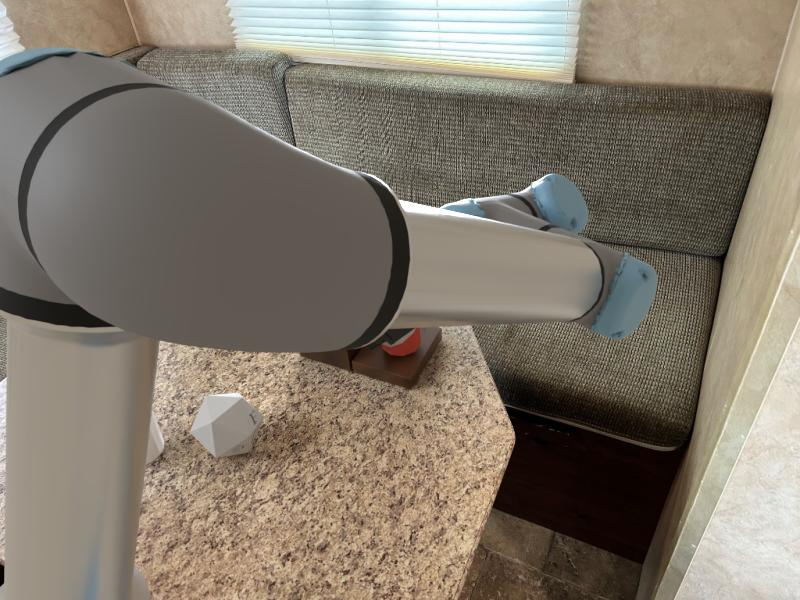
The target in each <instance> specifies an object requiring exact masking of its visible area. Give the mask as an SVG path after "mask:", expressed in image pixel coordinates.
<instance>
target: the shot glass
mask: <svg viewBox="0 0 800 600" xmlns="http://www.w3.org/2000/svg"><path fill="white" fill-rule="evenodd" d="M164 449H165V440H164V437H163V434H162V431H161V428H160V426H159V422H158V420H157V417H156V414H155V412H154V409H153V408H152V414H151V422H150V431H149V440H148V449H147V458H146V465H149V464H150V463H152V462H154V461H155V460H157V459H158V458H159V457H160V456H161V454H162V453H163V451H164Z"/></svg>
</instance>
